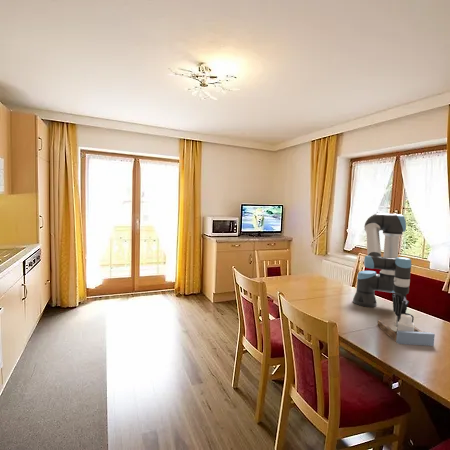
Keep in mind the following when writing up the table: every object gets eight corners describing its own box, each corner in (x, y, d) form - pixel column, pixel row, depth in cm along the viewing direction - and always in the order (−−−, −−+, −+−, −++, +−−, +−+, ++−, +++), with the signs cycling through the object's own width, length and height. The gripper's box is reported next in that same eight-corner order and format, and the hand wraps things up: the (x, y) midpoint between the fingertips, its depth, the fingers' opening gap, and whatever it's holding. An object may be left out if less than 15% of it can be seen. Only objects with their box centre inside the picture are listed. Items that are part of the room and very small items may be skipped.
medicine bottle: (398, 331, 157) (400, 310, 156) (413, 335, 153) (415, 314, 152) (396, 336, 151) (398, 314, 151) (412, 340, 147) (414, 318, 146)
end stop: (396, 341, 145) (397, 330, 144) (430, 344, 144) (432, 332, 143) (398, 343, 143) (399, 332, 142) (433, 345, 142) (434, 334, 141)
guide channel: (377, 325, 165) (377, 320, 165) (407, 327, 164) (408, 322, 164) (396, 341, 145) (396, 336, 145) (430, 344, 144) (431, 338, 144)
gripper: (388, 281, 164) (385, 321, 166) (400, 288, 151) (397, 331, 153) (401, 282, 164) (398, 322, 165) (415, 289, 151) (411, 332, 152)
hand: (397, 326), depth 159 cm, fingers closed
